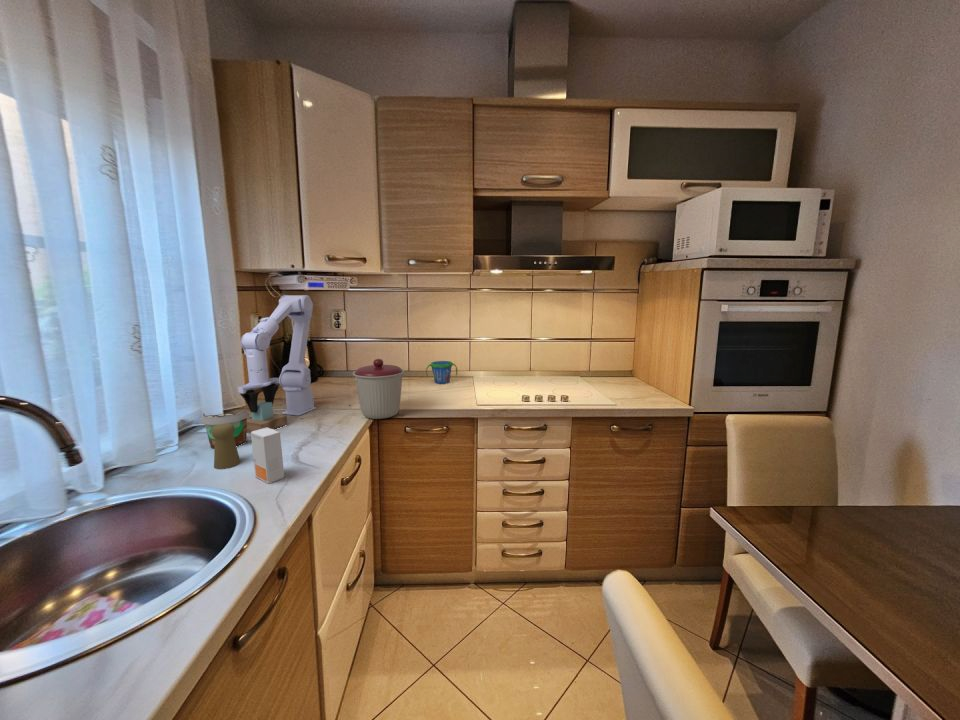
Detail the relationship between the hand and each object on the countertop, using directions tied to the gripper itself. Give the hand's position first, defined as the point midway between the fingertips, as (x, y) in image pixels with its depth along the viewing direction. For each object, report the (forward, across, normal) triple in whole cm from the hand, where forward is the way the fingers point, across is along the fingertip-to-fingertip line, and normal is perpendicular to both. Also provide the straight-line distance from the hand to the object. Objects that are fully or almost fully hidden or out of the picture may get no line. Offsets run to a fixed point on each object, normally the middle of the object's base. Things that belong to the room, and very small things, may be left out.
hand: (261, 409), depth 131 cm
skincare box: (+7, -28, -30) cm, 42 cm away
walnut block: (+7, 0, 0) cm, 7 cm away
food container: (+7, -16, -2) cm, 17 cm away
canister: (+7, +24, -30) cm, 39 cm away
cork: (+7, -25, -13) cm, 29 cm away
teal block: (+3, 0, 0) cm, 3 cm away
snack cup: (+7, +79, -32) cm, 86 cm away
